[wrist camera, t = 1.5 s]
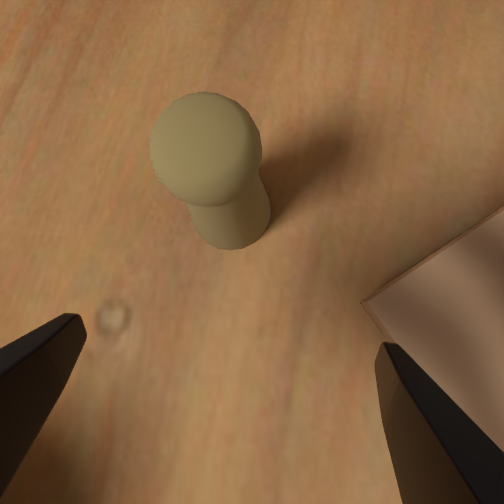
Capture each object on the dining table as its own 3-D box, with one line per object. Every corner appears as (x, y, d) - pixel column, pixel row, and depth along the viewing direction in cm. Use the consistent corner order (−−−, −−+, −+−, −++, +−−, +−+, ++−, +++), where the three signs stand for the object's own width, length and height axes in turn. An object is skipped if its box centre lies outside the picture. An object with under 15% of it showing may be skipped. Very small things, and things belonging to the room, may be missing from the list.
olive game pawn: (190, 250, 24) (122, 201, 13) (193, 174, 25) (133, 69, 14) (271, 250, 23) (271, 199, 12) (270, 172, 24) (270, 64, 14)
